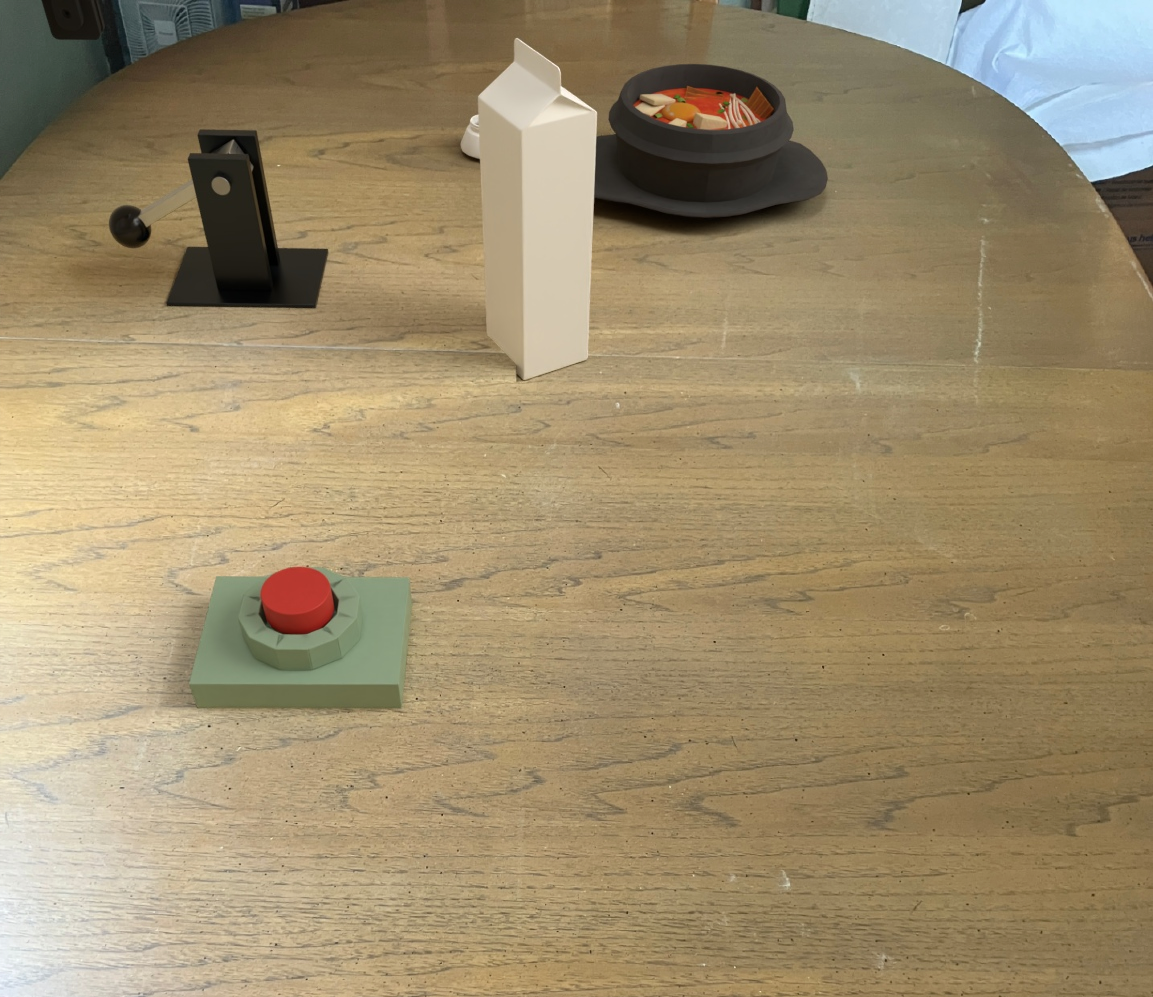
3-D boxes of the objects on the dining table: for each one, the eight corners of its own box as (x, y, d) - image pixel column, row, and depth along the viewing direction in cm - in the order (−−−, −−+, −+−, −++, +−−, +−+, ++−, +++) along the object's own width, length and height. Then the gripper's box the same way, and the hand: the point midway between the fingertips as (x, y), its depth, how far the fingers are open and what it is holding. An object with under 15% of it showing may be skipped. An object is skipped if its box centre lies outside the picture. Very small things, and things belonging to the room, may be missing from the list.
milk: (549, 324, 95) (554, 27, 78) (589, 361, 91) (602, 59, 74) (484, 344, 92) (474, 43, 75) (522, 382, 89) (520, 76, 72)
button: (260, 635, 66) (255, 614, 65) (270, 587, 69) (265, 565, 68) (330, 635, 67) (326, 614, 65) (337, 587, 69) (334, 566, 68)
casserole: (806, 145, 117) (822, 55, 110) (840, 238, 105) (860, 143, 98) (560, 143, 115) (561, 51, 109) (566, 236, 104) (568, 140, 97)
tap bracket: (169, 316, 94) (129, 170, 85) (190, 259, 99) (155, 116, 90) (317, 318, 94) (294, 172, 85) (329, 261, 100) (309, 119, 91)
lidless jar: (516, 160, 113) (506, 138, 116) (516, 129, 110) (505, 107, 114) (466, 164, 112) (457, 141, 115) (464, 133, 110) (455, 111, 113)
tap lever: (125, 262, 93) (95, 228, 91) (134, 242, 95) (105, 209, 93) (252, 187, 89) (224, 149, 86) (258, 168, 91) (231, 130, 88)
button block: (197, 708, 68) (180, 662, 64) (223, 601, 73) (209, 554, 70) (402, 709, 68) (395, 663, 65) (412, 602, 74) (406, 555, 71)
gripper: (-54, -356, 68) (49, -7, 82) (-139, -304, 59) (-6, 80, 73) (76, -353, 69) (155, -6, 83) (12, -300, 59) (114, 81, 73)
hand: (79, 34), depth 78 cm, fingers closed
